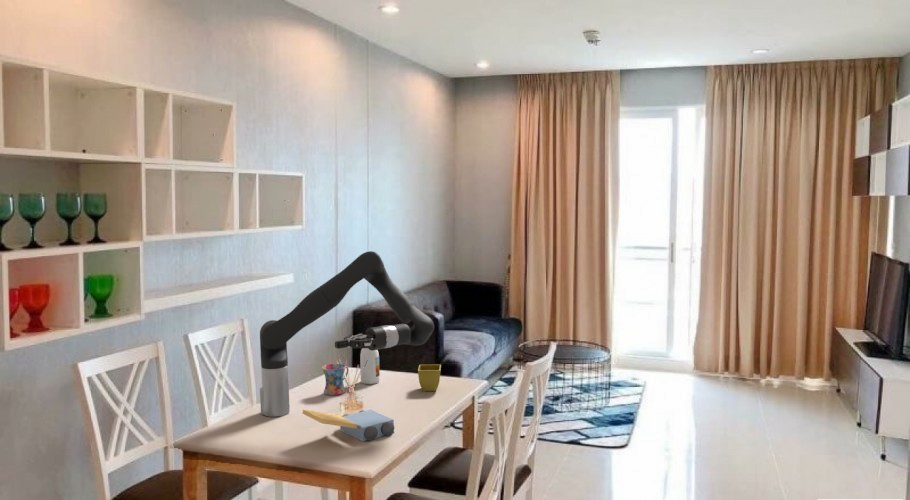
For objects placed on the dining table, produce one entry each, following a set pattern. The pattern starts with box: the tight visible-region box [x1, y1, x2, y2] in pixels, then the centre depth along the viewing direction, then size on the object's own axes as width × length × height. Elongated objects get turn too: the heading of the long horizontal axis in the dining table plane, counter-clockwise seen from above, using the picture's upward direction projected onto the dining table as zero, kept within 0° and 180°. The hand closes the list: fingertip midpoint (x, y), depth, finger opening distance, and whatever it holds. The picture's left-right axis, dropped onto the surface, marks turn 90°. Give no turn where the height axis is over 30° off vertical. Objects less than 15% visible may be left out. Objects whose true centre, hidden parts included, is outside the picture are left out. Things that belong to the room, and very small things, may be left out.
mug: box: [321, 363, 349, 396], centre depth 284 cm, size 12×9×11 cm
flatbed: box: [339, 409, 395, 442], centre depth 239 cm, size 12×16×4 cm
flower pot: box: [417, 364, 442, 392], centre depth 286 cm, size 9×9×9 cm
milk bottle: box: [359, 348, 381, 385], centre depth 297 cm, size 8×8×20 cm
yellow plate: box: [301, 409, 361, 429], centre depth 231 cm, size 2×15×14 cm
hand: (336, 345), depth 232 cm, fingers closed
